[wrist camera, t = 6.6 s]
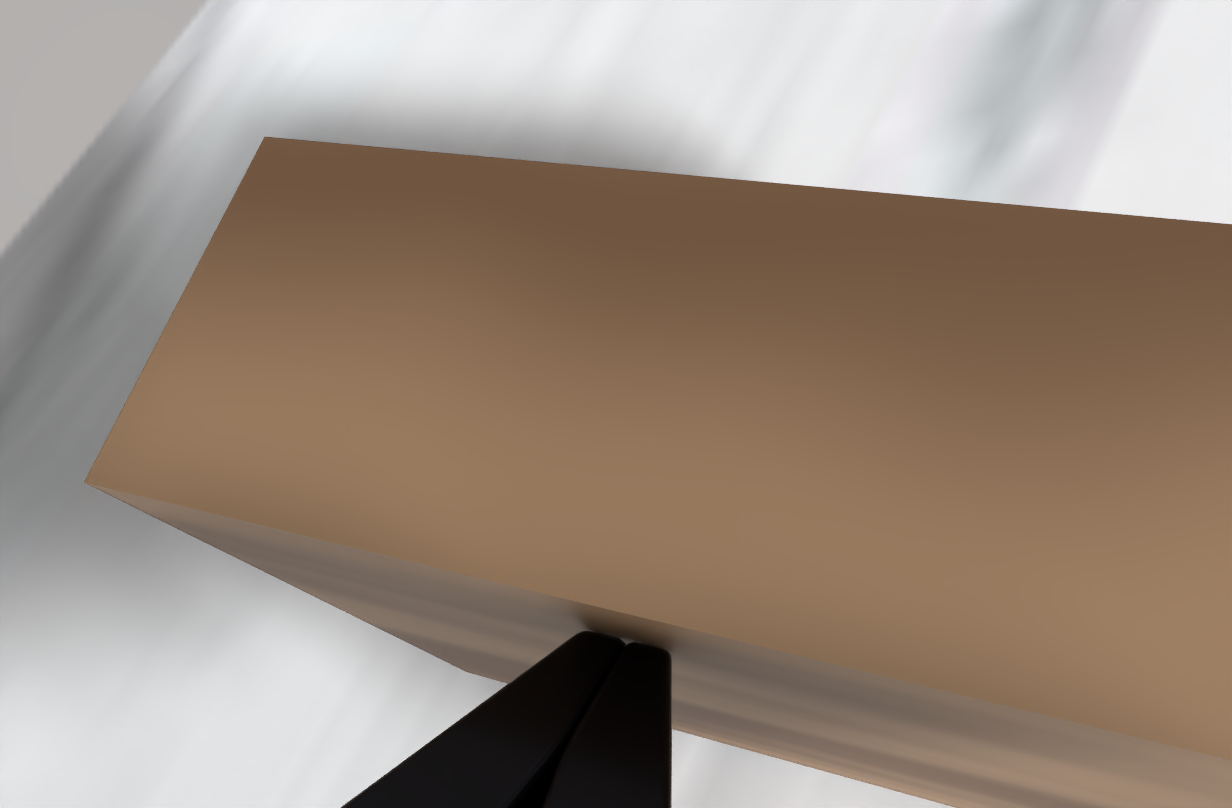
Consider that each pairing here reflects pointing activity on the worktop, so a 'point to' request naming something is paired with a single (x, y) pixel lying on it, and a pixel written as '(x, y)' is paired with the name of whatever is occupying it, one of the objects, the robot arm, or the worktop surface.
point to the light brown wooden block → (733, 453)
